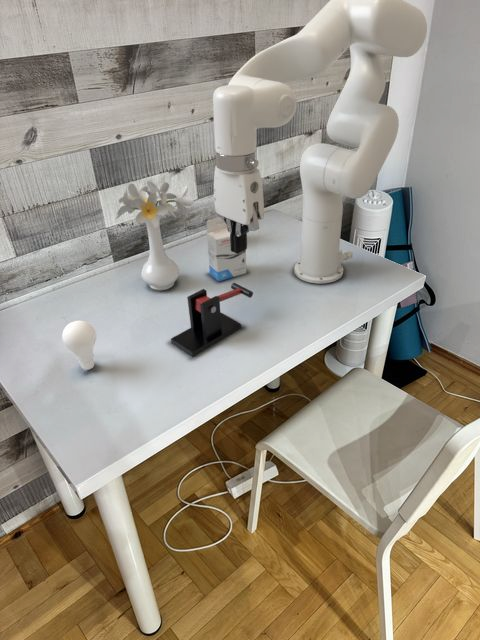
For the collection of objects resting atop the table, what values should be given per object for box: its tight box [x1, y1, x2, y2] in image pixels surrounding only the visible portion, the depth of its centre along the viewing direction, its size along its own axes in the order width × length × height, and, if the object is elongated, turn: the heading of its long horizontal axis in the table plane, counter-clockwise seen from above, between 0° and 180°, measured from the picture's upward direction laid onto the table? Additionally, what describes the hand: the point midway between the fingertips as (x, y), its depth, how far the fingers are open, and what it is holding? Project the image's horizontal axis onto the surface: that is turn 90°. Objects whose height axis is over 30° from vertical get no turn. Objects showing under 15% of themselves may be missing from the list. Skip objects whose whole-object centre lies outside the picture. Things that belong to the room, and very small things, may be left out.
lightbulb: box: [61, 320, 97, 371], centre depth 98 cm, size 6×6×11 cm
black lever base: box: [170, 288, 242, 358], centre depth 106 cm, size 14×7×10 cm, turn 136°
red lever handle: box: [195, 282, 254, 312], centre depth 108 cm, size 13×6×2 cm, turn 136°
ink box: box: [206, 217, 247, 282], centre depth 126 cm, size 8×5×15 cm, turn 123°
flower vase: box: [114, 180, 194, 291], centre depth 120 cm, size 13×18×25 cm
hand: (238, 250), depth 105 cm, fingers closed
